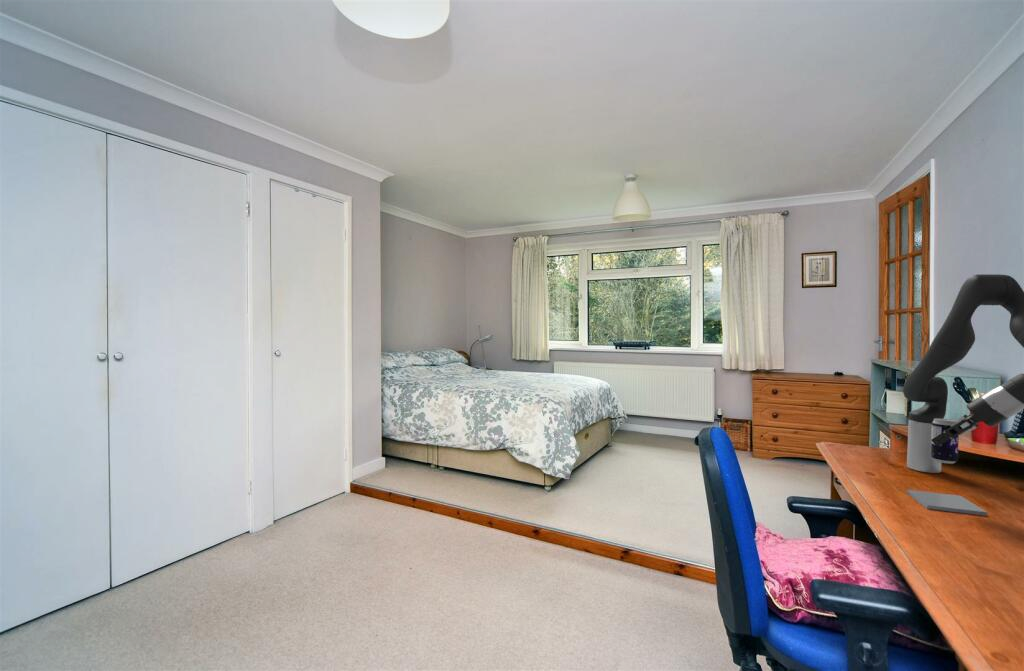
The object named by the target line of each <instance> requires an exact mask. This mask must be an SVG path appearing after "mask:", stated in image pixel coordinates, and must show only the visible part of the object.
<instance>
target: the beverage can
mask: <svg viewBox="0 0 1024 671" xmlns="http://www.w3.org/2000/svg"><path fill="white" fill-rule="evenodd" d="M956 421H957V420H955V419H949V418H944V419H941V418H935V419H934V421H933V422H932V439H933V438H935V437H936V436H938V435H940V434H941V433H943V432H944V430H946V429H949V428H950V425H951V424H953V423H955V422H956ZM950 431H951V432H952V433H953V434H957V432H955V431H954V430H953V429H951V430H950ZM959 438H960V435H958V436H956V438H954V439H950V440H948V441H946V442H945V443H943V444H941V445H940V446H937V445H935V444H934V443H933V442H931V457H932V458H933V459H934V460H935V461H937V462H941V464H942V463H943V464H950V465H953V464H955V463H956V462H958V461H959Z"/></svg>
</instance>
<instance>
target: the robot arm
mask: <svg viewBox="0 0 1024 671" xmlns="http://www.w3.org/2000/svg"><path fill="white" fill-rule="evenodd" d="M980 306H1000V307H1002V308H1004V309H1005V310H1006V311H1008V313H1009V314H1010V320H1009V331H1010V333H1011V335H1012V337H1013V338H1014V339H1015V340H1016V342H1017V343H1019V345H1020V347H1022V349H1024V289H1023V288H1022V287H1021V285H1020V284H1019V283H1018V281H1017V280H1016V279H1015V278H1014V277H1013V276H1011V275H1008V274H989V273H988V274H987V273H986V274H982V273H981V274H979V273H978V274H973V275H971V276H968V277H967V278H966V280H965V281H964V282H963V283H962V285H961V287H960V289H959V290H958V293H957V296H956V298H955V300H954V302H953V305H952V307H951V309H950V311H949V313H948V315H947V317H946V318H945V320H944V322H943V324H942V325H941V328H940V329H939V330H938V331H937V334H936V335H935V337H934V338H933V340H932V341H931V344H930V345H929V348H928V349H927V351H926V352H925V353H924V355H923V357H922V359H921V360H920V361H919V362H918V364H917V365H916V367H915V368H914V369H913V370H912V371H911V372H910V374H909V375H908V377H906V380H904V381H905V382H904V383H903V387H902V394H903V395H904V397H905V399H906V400H908V401H911V402H916V403H924V405H923V406H921V407H919V408H918V409H914V410H911V411H909V413H908V423H907V424H908V426H907V427H908V429H907V430H908V431H907V452H906V467H907V468H908V469H911V470H914V471H918V472H922V473H930V474H932V473H933V474H938V473H939V474H940V473H942V463H941V462H937V461H935V460H934V459H933V458H932V457H931V442H933V443H934V444H935V445H937V446H940V445H941V444H943V443H945V442H946V441H948V440H950V439H954V438H956V436H958V435H959V436H963V435H965V434H966V433H969V432H970V431H974V430H976V429H978V427H980V425H979V423H980V422H983V424H985V425H986V426H988V427H992V428H993V427H996V426H997V425H1000V424H1001V423H1003V422H1005V421H1006V420H1009V419H1010V418H1012V417H1014V416H1015V415H1016V414H1018V413H1019V412H1021V411H1023V410H1024V373H1019V374H1018V375H1015V376H1013V377H1012V378H1009V379H1008V380H1006V381H1004V383H1002V384H1000V385H999V386H996V387H994V388H992V389H990V390H988V391H986V392H985V393H983V394H981V396H978V397H977V398H976V399H974V400H972V401H970V402H969V403H967V405H966V408H967V410H968V411H969V412H970V413H972V414H968V415H967V414H964V415H963V416H961V417H959V418H958V420H956V422H955V423H953V424H951V425H950V428H949V429H946V430H944V432H943V433H941V434H940V435H938V436H936V437H935V438H933V439H932V422H933V421H934V419H935V418H941V419H945V417H946V414H947V404H948V396H949V395H948V394H949V390H948V384H947V382H946V381H945V379H944V378H942V377H940V376H937V375H939V374H940V373H942V372H943V371H946V370H948V369H949V368H951V367H952V366H954V365H955V364H958V363H959V362H960V361H962V360H963V359H964V358H965V357H966V356H967V355H968V353H969V352H970V350H971V349H972V348H973V346H974V343H975V342H976V333H975V330H974V327H973V324H972V317H973V315H974V313H975V311H976V310H977V309H978V308H979V307H980ZM951 429H953V430H954V431H955V432H957V434H953V433H952V432H951V431H950V430H951Z"/></svg>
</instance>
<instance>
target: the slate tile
mask: <svg viewBox="0 0 1024 671" xmlns="http://www.w3.org/2000/svg"><path fill="white" fill-rule="evenodd" d="M906 494H907V495H908V494H909V495H908V496H910V497H912V498H913V499H914V500H916V501H917V502H918V504H920V505H922V506H923V507H924V508H925V509H928V510H935V511H943V512H952V513H959V514H969V515H976V516H984V517H987V516H988V512H987V511H986V510H984V509H983V508H981V507H979V506H978V505H977V504H975V503H973V502H971V501H970V500H968V499H967V498H965V497H964V496H961V495H957V494H948V493H947V494H946V493H940V492H939V493H938V492H931V491H923V490H922V491H921V490H920V491H919V490H913V489H912V490H911V489H906Z"/></svg>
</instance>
